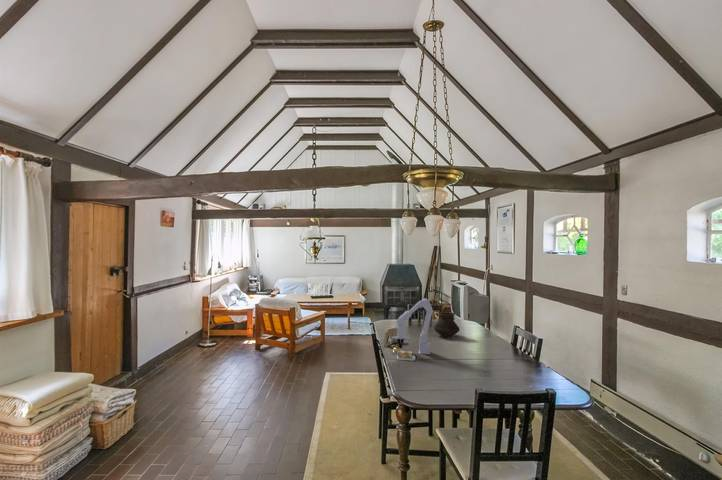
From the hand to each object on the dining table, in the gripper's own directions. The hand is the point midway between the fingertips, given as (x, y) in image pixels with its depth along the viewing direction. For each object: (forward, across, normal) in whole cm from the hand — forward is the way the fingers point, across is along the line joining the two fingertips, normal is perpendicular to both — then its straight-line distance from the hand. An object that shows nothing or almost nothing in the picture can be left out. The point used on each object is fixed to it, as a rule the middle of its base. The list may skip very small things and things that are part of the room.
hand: (400, 348), depth 308 cm
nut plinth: (+3, +3, +4) cm, 6 cm away
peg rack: (+3, -5, +19) cm, 20 cm away
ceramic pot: (+3, -43, -58) cm, 72 cm away
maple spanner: (+1, -4, +19) cm, 20 cm away
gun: (+3, +8, -23) cm, 24 cm away
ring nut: (+2, +3, +3) cm, 4 cm away
